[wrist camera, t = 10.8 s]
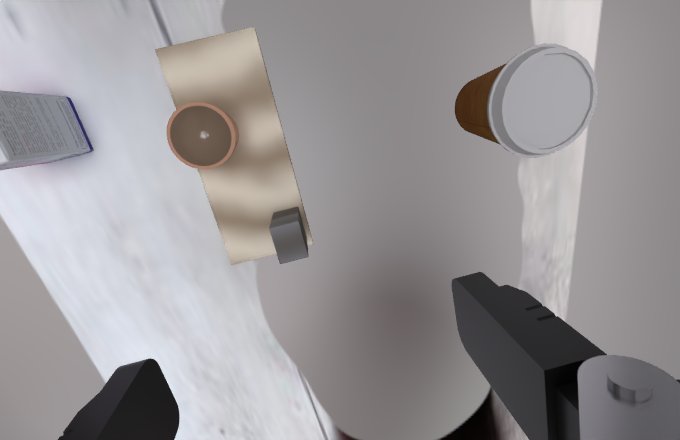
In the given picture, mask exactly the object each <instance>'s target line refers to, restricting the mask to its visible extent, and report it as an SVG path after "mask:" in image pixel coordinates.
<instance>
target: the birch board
mask: <svg viewBox="0 0 680 440" xmlns="http://www.w3.org/2000/svg"><path fill="white" fill-rule="evenodd" d="M155 51H156V54H157V56H158V59H159V62H160V65H161V68H162V70H163V73H164V76H165V79H166V82H167V84H168V87H169V90H170V93H171V96H172V98H173V101H174V104H175V107H176V110H177V109H178V108H180V107H181V106H183V105H185V104H188V103H193V102H202V103H208V104H212V105H214V106H216V107H218V108H220V109H221V110H223V111H224V112H225V113H227V114H228V115H230V116H231V117H232V118H233V120H234V121H235V123H236V124H237V127H238V130H239V140H238V144H237V146H236V147H235V150H234V152H233V154H232V155H231V157H230V158H229V159H228V160H227V161H226V162H224V163H223V164H221V165H219V166H217V167H215V168H211V169H198V168H197V169H198V171H199V174H200V177H201V180H202V183H203V185H204V188H205V191H206V194H207V197H208V199H209V202H210V205H211V208H212V211H213V213H214V216H215V219H216V222H217V225H218V228H219V230H220V233H221V236H222V239H223V242H224V244H225V247H226V250H227V253H228V256H229V258H230V261H231V264H232V265H234V264H238V263H242V262H246V261H250V260H254V259H258V258H261V257H265V256H269V255H273V254H277V256H278V259H279V262H280V264H283V263H287V262H290V261H295V260H298V259H302V258H306V257H308V245H312V244H313V240H312V237H311V233H310V229H309V225H308V222H307V218H306V214H305V211H304V207H303V204H302V200H301V196H300V192H299V189H298V185H297V181H296V178H295V174H294V170H293V167H292V163H291V159H290V156H289V152H288V148H287V144H286V141H285V137H284V133H283V130H282V126H281V122H280V119H279V116H278V111H277V108H276V104H275V100H274V97H273V93H272V90H271V86H270V82H269V78H268V75H267V71H266V67H265V63H264V60H263V56H262V52H261V49H260V45H259V41H258V38H257V34H256V30H255V28H254V27H251V28H247V29H243V30H239V31H234V32H230V33H225V34H221V35H216V36H212V37H208V38H203V39H199V40H195V41H190V42H186V43H182V44H177V45H173V46H169V47H164V48H160V49H155Z"/></svg>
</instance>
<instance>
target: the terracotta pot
mask: <svg viewBox="0 0 680 440" xmlns="http://www.w3.org/2000/svg"><path fill="white" fill-rule="evenodd" d="M167 139H168V143H169V146H170V148H171V150H172V151H173V153H174V154H175V155H176V157H177V158H178V159H179V160H181V161H182V162H183V163H185V164H186V165H189V166H191V167H194V168H198V169H211V168H215V167H217V166H219V165H221V164H223V163H224V162H226V161H227V160H228V159H229V158H230V157H231V155H232V154H233V152H234V150H235V147H236V146H237V144H238V140H239V130H238V127H237V124H236V123H235V121H234V120H233V118H232V117H231V116H230V115H228V114H227V113H225V112H224V111H223V110H221V109H220V108H218V107H216V106H214V105H212V104H208V103H202V102H193V103H188V104H185V105H183V106H181V107H180V108H178V109H177V110H176V111H175V112H174V113H173V114H172V116H171V117H170V119H169V122H168V125H167Z"/></svg>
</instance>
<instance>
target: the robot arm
mask: <svg viewBox="0 0 680 440" xmlns="http://www.w3.org/2000/svg"><path fill="white" fill-rule="evenodd" d="M452 292H453V299H454V306H455V313H456V320H457V326H458V331H459V335H460V338H461V341H462V343H463V345H464V347H465V349H466V351H467V352H468V354H469V355H470V357H471V358H472V360H473V361H474V362H475V364H476V365H477V367H478V368H479V369H480V371H481V372H482V374H483V375H484V377H485V378H486V379H487V381H488V382H489V384H490V385H491V386H492V388H493V389H494V391H495V392H496V393H497V395H498V396H499V398H500V399H501V400H502V402H503V403H504V405H505V406H506V407H507V409H508V410H509V412H510V413H511V415H512V416H513V417H514V419H515V420H516V422H517V423H518V424H519V426H520V427H521V429H522V430H523V431H524V433H525V434H526V436H527V437H528V438H529V440H680V380H676V379H675V378H673V377H672V376H671V375H670V374H668V373H667V372H665V371H664V370H662V369H660V368H658V367H656V366H654V365H652V364H650V363H647V362H645V361H642V360H638V359H635V358H631V357H626V356H618V355H607V354H605V353H604V352H603V351H602V350H600V349H599V348H598V347H596V346H595V345H594V344H593V343H591V342H590V341H589V340H588V339H586V338H585V337H584V336H582V335H581V334H580V333H579V332H577V331H576V330H575V329H573V328H572V327H571V326H570V325H568V324H567V323H566V322H564V321H563V320H562V319H561V318H559V317H558V316H557V317H556V316H555V314H554V313H553V312H551V311H550V310H549V309H548V308H546V307H545V306H544V307H543V306H542V304H541V303H540V302H539V301H537V300H536V299H535V298H533V297H532V296H531V295H530V294H528V293H527V292H525V291H522V290H519V289H517V288H514V287H511V286H509V285H504V286H500V287H499V286H498V285H496V284H495V283H494V282H493V281H492V280H491V279H489V278H488V277H487V276H486V275H485V274H483V273H482V272H478V273H474V274H470V275H466V276H463V277H459V278H455V279H453V280H452ZM178 427H179V409H178V405H177V402H176V400H175V398H174V396H173V394H172V392H171V390H170V388H169V385H168V383H167V381H166V379H165V377H164V375H163V373H162V371H161V368H160V366H159V365H158V363H157V362H156V361H155V360H154V359H146V360H143V361H139V362H135V363H131V364H127V365H124V366H121V367H119V368H117V369H116V371H115V372H114V373H113V375H112V376H111V378H110V379H109V380H108V382H107V383H106V385H105V386H104V387H103V389H102V390H101V391H100V393H98V394H97V395H96V396H95V397H94V398H93V399H92V400H91V401H90V402H89V403H88V404H87V405H85V406H84V407H83V408H82V409H81V410H80V411H79V412H78V413H77V414H76V416H75V417H74V418H73V420H72V421H71V423H70V424H69V425H68V427H67V428H66V429H65V431H64V432H63V433H64V435H63V436H61V437H59V439H58V440H174V438H175V436H176V433H177V430H178Z"/></svg>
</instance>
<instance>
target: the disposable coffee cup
mask: <svg viewBox="0 0 680 440" xmlns="http://www.w3.org/2000/svg"><path fill="white" fill-rule="evenodd" d="M596 102H597V82H596V77H595V73H594V71H593V69H592V68H591V66H590V64H589V62H588V61H587V60H586V59H585V58H584V57H582V56H581V55H580V54H579V53H578V52H576V51H573V50H570V49H568V48H567V47H564V46H560V45H557V44H541V45H536V46H533V47H530V48H528V49H525V50H524V51H522V52H520V53H519V54H517V55H516V56H515V57H513V58H512V59H511V60H510V61H509V62H508V63H507V64H504V65H502V66H500V67H498V68H496V69H494V70H492V71H490V72H488V73H486V74H484V75H482V76H480V77H478V78H476V79H474V80H471V81H470V82H468V83H467V84H466V85H465V86H464V87H463V88H462V89H461V91H460V92H459V94H458V96H457V99H456V103H455V115H456V119H457V121H458V123H459V124H460V126H461V127H462V128H464V130H466V131H468V132H470V133H473V134H476V135H478V136H480V137H483V138H485V139H488V140H491V141H493V142H496V143H498V144H500V145H502V146H503V147H504V148H505V149H506V150H508V151H509V152H511V153H513V154H515V155H518V156H521V157H527V158H537V157H542V156H546V155H549V154H551V153H553V152H556V151H558V150H560V149H562V148H564V147H566V146H568V145H569V144H571V143H572V142H573V141H574V140H575V139H577V138H578V137H579V136H580V135H581V133H582V132H583V131H584V129H585V128H586V127H587V125H588V123H589V121H590V119H591V118H592V115H593V113H594V110H595V106H596Z"/></svg>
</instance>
